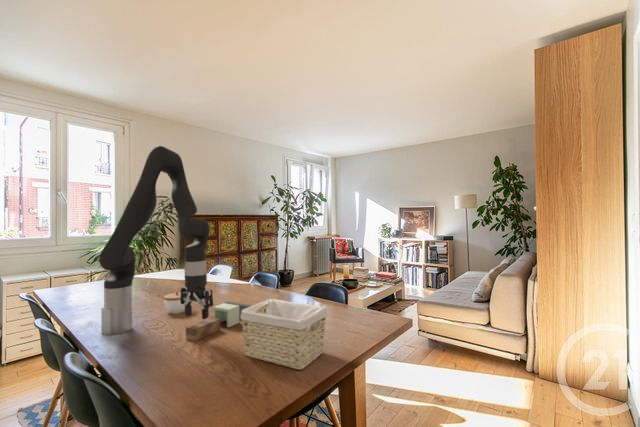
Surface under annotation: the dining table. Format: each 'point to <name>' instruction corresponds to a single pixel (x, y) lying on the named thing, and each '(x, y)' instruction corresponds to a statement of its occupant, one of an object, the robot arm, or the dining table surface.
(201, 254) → the robot arm
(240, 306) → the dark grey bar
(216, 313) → the sage block
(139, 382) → the dining table surface
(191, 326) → the walnut block
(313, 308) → the storage basket
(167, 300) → the lidded jar
